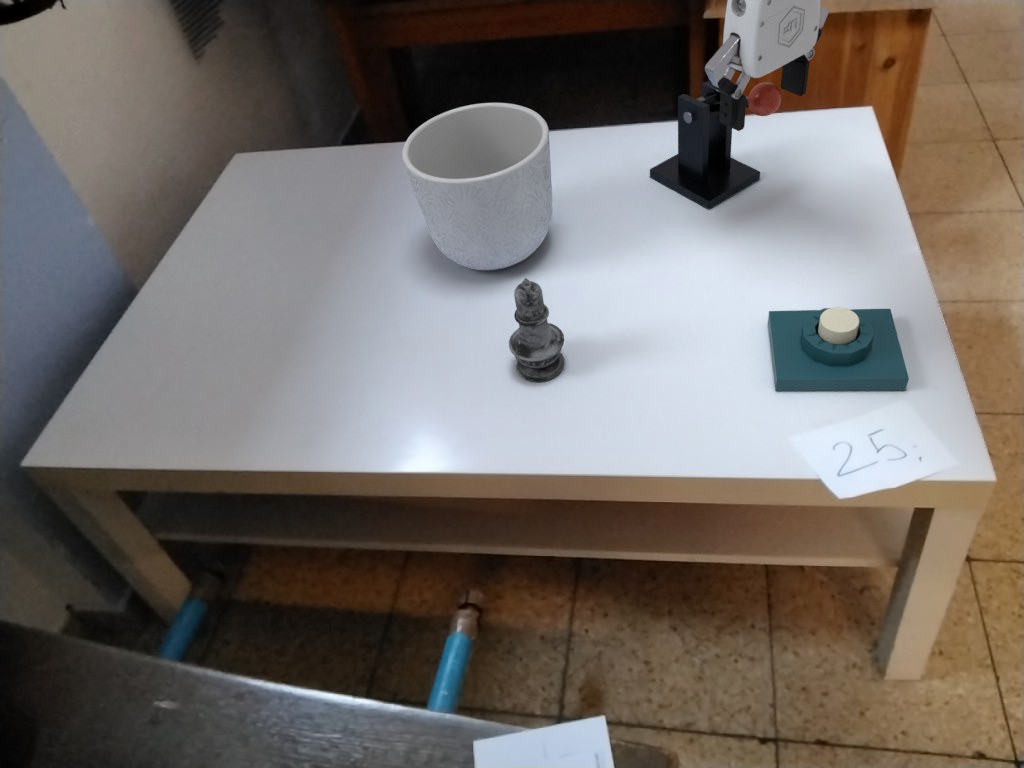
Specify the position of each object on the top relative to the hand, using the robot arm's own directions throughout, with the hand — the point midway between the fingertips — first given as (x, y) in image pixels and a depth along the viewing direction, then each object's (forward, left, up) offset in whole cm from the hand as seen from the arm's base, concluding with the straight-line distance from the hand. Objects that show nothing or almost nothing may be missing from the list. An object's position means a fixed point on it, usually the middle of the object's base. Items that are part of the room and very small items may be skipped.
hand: (762, 108), depth 93 cm
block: (-6, +27, -13) cm, 30 cm away
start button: (-6, +27, -10) cm, 29 cm away
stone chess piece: (+24, +28, -13) cm, 39 cm away
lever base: (+6, -6, -13) cm, 16 cm away
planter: (+32, +7, -13) cm, 35 cm away
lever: (+2, -2, -2) cm, 4 cm away
